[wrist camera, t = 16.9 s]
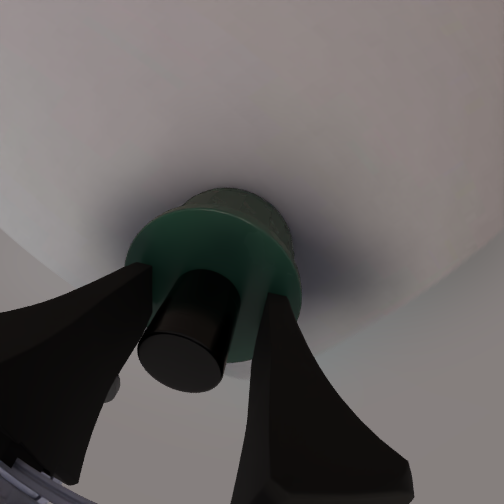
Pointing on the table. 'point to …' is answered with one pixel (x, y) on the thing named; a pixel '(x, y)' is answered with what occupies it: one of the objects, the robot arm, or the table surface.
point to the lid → (208, 291)
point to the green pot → (247, 209)
